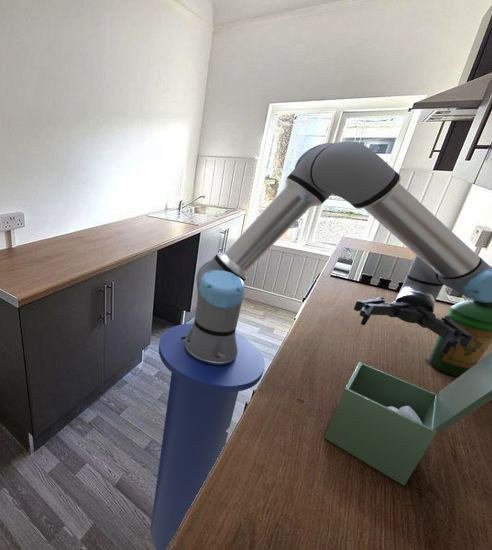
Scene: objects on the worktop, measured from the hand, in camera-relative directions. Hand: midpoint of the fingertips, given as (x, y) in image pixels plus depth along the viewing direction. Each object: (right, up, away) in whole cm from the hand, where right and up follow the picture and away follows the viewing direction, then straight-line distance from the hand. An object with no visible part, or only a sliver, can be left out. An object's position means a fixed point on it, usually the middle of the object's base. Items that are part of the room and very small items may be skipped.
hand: (402, 332), depth 63 cm
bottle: (+37, -16, +26) cm, 48 cm away
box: (-7, -23, 0) cm, 25 cm away
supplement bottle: (-8, -21, +1) cm, 23 cm away
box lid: (-1, -6, -13) cm, 14 cm away
